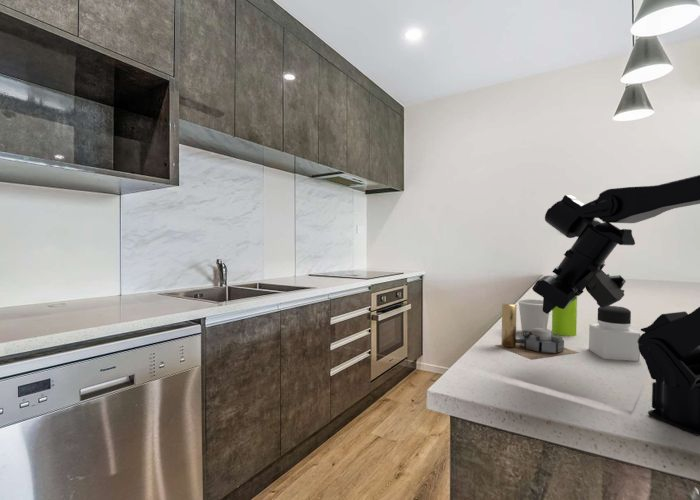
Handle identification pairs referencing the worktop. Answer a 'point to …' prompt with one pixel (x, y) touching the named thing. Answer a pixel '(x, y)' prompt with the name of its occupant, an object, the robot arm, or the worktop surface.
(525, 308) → the dixie cup
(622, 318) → the medicine bottle
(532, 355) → the mount board
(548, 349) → the desk sculpture ornament
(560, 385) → the worktop surface
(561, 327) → the soap dispenser
